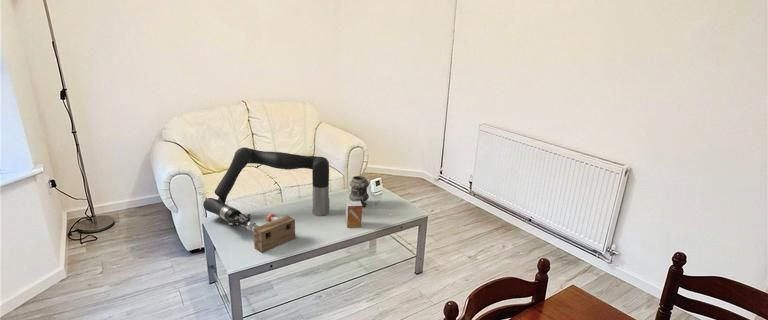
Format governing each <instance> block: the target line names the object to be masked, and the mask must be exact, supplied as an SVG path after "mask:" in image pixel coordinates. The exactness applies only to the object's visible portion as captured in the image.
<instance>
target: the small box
mask: <svg viewBox="0 0 768 320" xmlns="http://www.w3.org/2000/svg"><path fill="white" fill-rule="evenodd" d="M362 219H363V208H362V204H361V201H351V200H350V201H346V203H345V225H346V228H361V227H362V221H363V220H362Z"/></svg>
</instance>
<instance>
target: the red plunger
mask: <svg viewBox="0 0 768 320" xmlns="http://www.w3.org/2000/svg"><path fill="white" fill-rule="evenodd" d="M277 219H279V217H277V216H276V215H275V214H273V213H269V214H268V215H267V216H266V221H267V223H269V222H271V221H274V220H277ZM286 227H287V225H286Z"/></svg>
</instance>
